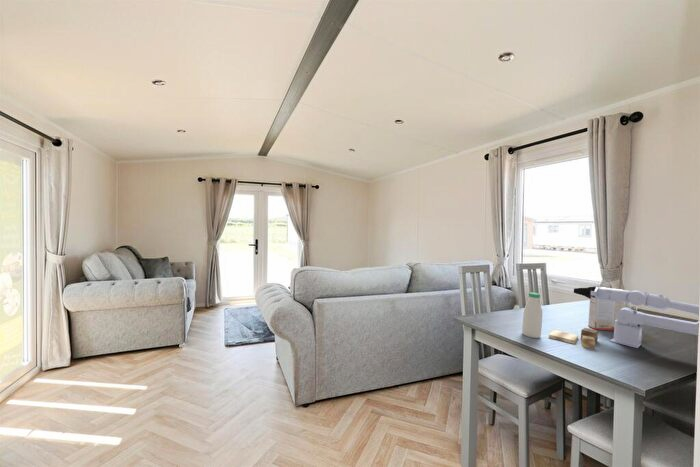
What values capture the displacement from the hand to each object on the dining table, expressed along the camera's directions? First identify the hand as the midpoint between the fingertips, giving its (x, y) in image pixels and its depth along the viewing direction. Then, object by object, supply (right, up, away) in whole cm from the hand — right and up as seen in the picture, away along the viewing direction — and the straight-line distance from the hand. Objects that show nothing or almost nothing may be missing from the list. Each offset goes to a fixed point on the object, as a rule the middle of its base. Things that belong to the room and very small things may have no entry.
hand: (575, 290), depth 161 cm
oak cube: (-9, -21, -20) cm, 31 cm away
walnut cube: (-3, -21, -13) cm, 25 cm away
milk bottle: (-28, -20, -10) cm, 35 cm away
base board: (-14, -20, -11) cm, 27 cm away
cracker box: (+20, -21, +6) cm, 30 cm away
